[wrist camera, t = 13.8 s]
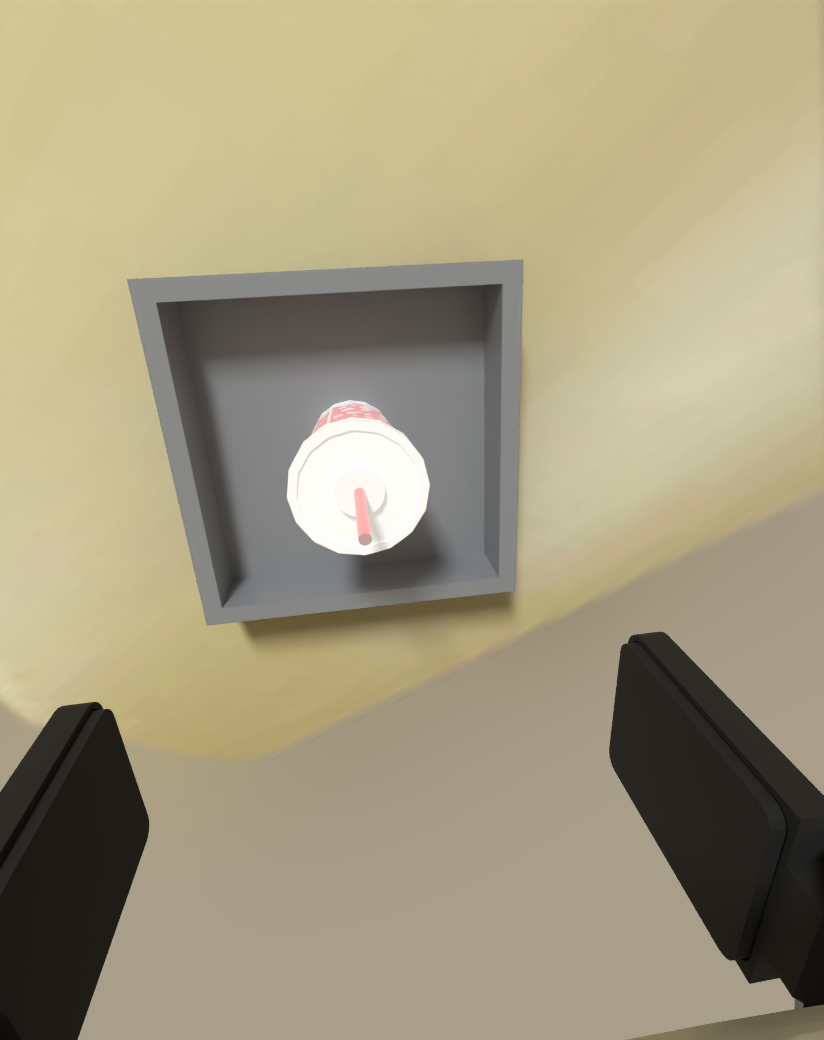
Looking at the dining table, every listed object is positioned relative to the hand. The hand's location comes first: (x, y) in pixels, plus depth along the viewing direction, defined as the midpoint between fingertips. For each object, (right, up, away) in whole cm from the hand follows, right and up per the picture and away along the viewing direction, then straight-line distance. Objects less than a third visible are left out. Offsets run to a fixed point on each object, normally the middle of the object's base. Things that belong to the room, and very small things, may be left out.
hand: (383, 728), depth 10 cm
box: (-3, +9, +22) cm, 24 cm away
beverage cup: (-3, +9, +22) cm, 23 cm away
